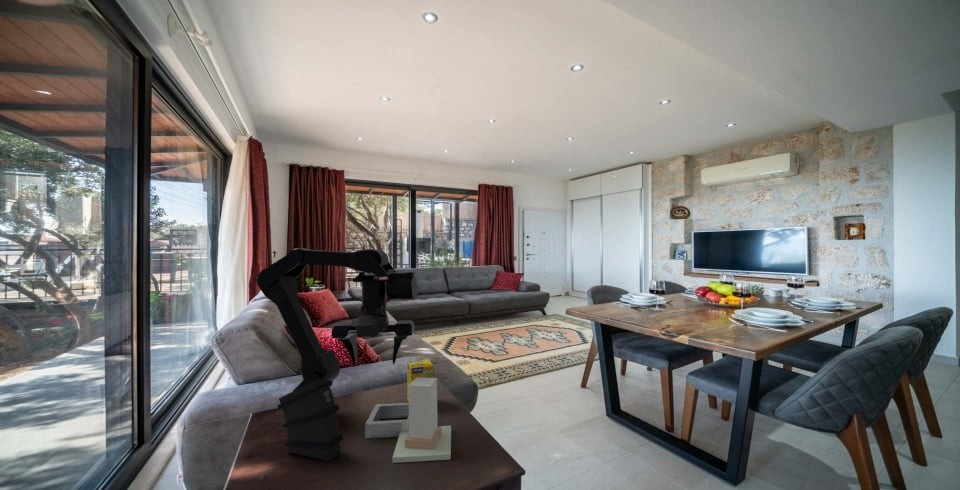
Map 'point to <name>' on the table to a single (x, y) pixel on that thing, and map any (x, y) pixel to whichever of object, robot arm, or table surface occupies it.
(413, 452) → the sage pad
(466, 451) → the table surface
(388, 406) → the holder collar
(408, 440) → the plug
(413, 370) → the supplement box
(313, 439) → the black ridged block stack
